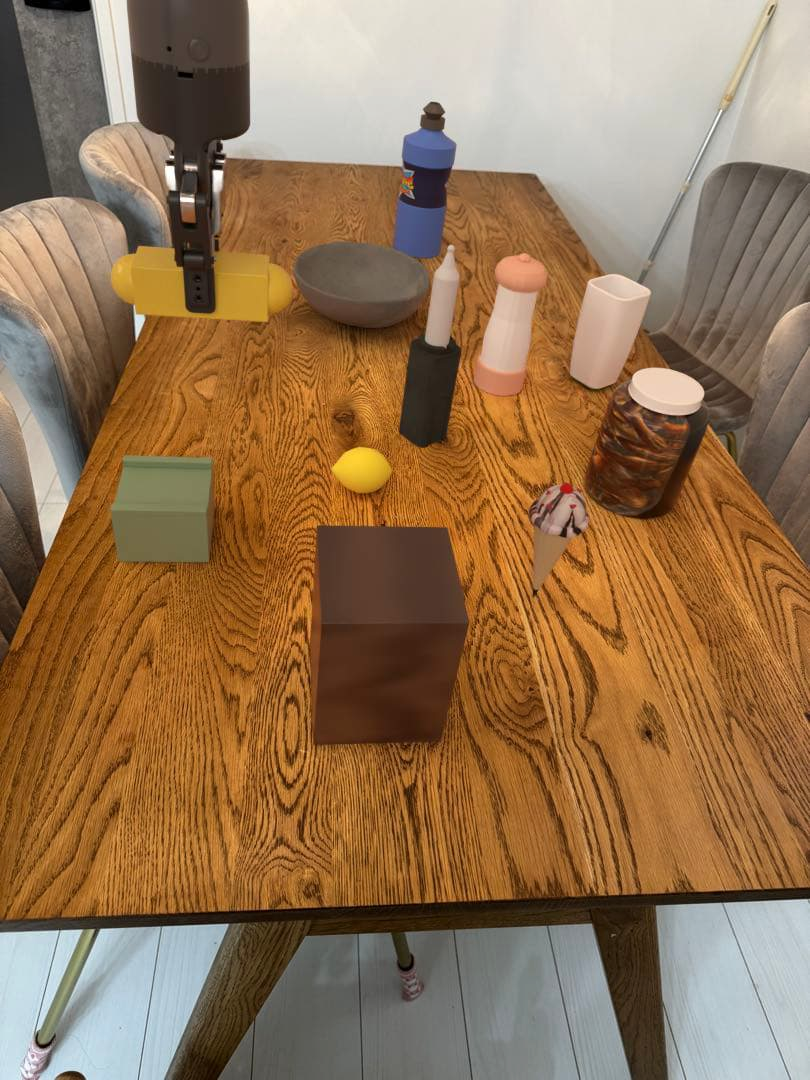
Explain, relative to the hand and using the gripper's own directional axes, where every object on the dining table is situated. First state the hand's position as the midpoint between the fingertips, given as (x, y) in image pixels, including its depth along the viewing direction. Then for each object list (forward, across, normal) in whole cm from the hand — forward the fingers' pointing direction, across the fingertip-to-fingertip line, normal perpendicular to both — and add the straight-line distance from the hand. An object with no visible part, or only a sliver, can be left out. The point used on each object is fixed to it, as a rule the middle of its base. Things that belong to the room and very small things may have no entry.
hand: (203, 296), depth 64 cm
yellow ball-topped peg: (+1, 0, 0) cm, 1 cm away
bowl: (+30, -59, +18) cm, 69 cm away
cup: (+30, -43, +52) cm, 74 cm away
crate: (+29, +16, +15) cm, 37 cm away
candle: (+30, -26, +24) cm, 46 cm away
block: (+29, -5, -6) cm, 30 cm away
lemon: (+30, -14, +15) cm, 36 cm away
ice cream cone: (+30, +4, +33) cm, 44 cm away
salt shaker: (+30, -40, +37) cm, 62 cm away
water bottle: (+30, -89, +30) cm, 99 cm away
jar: (+30, -16, +49) cm, 60 cm away
